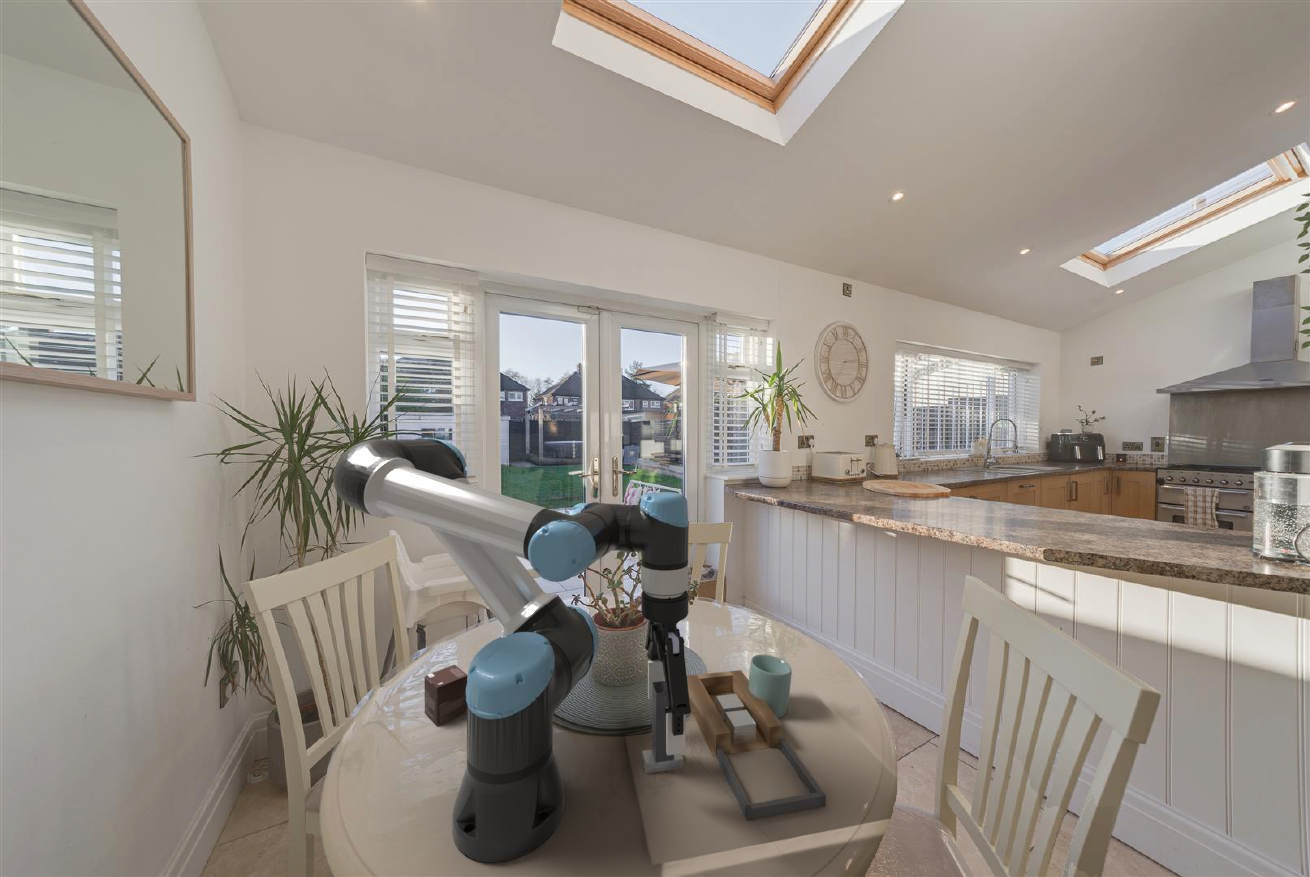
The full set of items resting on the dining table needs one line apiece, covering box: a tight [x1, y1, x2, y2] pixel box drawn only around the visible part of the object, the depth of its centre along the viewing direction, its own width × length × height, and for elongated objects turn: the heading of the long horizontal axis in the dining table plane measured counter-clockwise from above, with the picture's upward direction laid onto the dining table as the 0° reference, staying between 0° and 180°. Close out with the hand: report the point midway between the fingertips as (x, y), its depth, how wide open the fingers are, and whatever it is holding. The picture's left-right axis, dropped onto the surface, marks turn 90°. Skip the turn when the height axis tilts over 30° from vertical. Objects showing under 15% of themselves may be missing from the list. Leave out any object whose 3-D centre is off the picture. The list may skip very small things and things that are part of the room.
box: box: [423, 664, 468, 726], centre depth 86 cm, size 6×6×7 cm
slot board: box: [687, 669, 784, 757], centre depth 83 cm, size 13×18×5 cm
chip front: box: [726, 710, 756, 744], centre depth 79 cm, size 4×4×3 cm
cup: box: [748, 654, 793, 719], centre depth 87 cm, size 8×8×10 cm
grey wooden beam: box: [641, 680, 684, 775], centre depth 71 cm, size 6×3×14 cm, turn 102°
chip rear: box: [716, 694, 744, 724], centre depth 83 cm, size 4×4×3 cm
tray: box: [716, 738, 827, 822], centre depth 68 cm, size 12×12×3 cm
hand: (665, 723), depth 71 cm, fingers open, 13 cm apart
